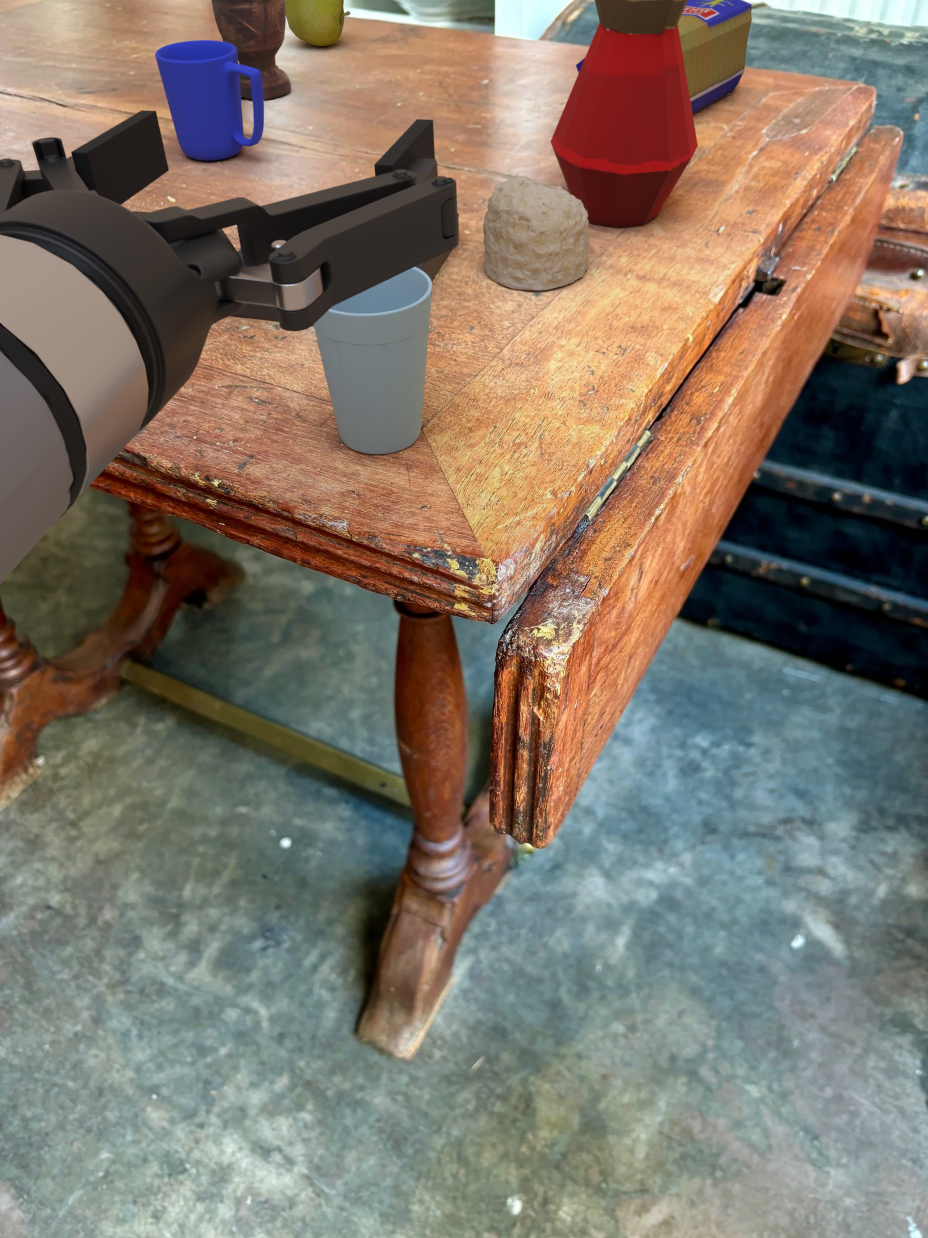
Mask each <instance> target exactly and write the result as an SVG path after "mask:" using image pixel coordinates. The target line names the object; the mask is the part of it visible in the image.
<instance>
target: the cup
mask: <svg viewBox="0 0 928 1238" xmlns="http://www.w3.org/2000/svg"><path fill="white" fill-rule="evenodd" d="M432 299H433V280H432V281H431V279H430V278H429V276H428V275H427V274H426V273H425V272H423V271H422V270H420V269H418V268H416V267H413V268H411V269H409V270H407V271H405V272H403V273H401V274H399V275H397V276H395V277H393V278H390V279H388V280H386V281H384V282H382V283H380V284H378V285H376V286H374V287H372V288H370V289H368V290H366V291H364V292H361V293H359V294H357V295H355V296H353V297H351V298H349V299H347V300H345V301H343V302H341V303H339V304H337V305H334V306H332V307H331V308H330V309H329V310H328V311H327V312H326V313H325V314H324V315H323V316H322V317H321V318H320V319H319V320H318V321H317V322H316V323H315V324H313V325H312V326H313V329H314V333H315V338H316V342H317V346H318V350H319V354H320V358H321V359H320V360H321V363H322V367H323V371H324V376H325V380H326V384H327V390H328V393H329V397H330V401H331V405H332V410H333V414H334V418H335V422H336V427H337V431H338V434H339V438H340V440H341V441H342V443H343V444H344V445H345V446H346V447H348V448H349V449H350V450H353V451H355V452H359V453H361V454H368V455H387V454H393V453H396V452H400V451H403V450H405V449H407V448H409V447H410V446H412V445H413V444H414V443H415V442H416V441H417V440H418V439H419V437H420V435H421V431H422V424H423V423H422V421H423V409H424V397H425V384H426V372H427V362H428V361H427V360H428V359H427V358H428V348H429V347H428V346H429V336H430V335H429V334H430V323H431V322H430V320H431V310H432Z"/></svg>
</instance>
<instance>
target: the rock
mask: <svg viewBox="0 0 928 1238" xmlns="http://www.w3.org/2000/svg"><path fill="white" fill-rule="evenodd" d="M587 217H588V213H587V211H586V210H585V208H584V206H583V203H582V202H581V200H579V199H576V198H575V197H574V196H573V195H571V194H570V192H569V191H567V190H566V189H563V187H562V186H561V185H551V184H549V183H548V182H546V181H543V180H542V179H538V178H533V179H530V178H529V177H528V176H526V175H525V174H524V175H518V176H515V177H513V178H509V179H507V180H505V181H504V182H501V183H496V184H495V186H494V189H493V190H492V193H491V195H490V196H489V198H488V201H487V210H486V212H485V214H484V217H483V223H482V230H483V246H484V251H483V256H484V265H483V269H484V270H485V272H486V275H487V276H488V277H489V278H490V279H491V280H492V281H494V282H496V283H497V284H500V285H502V286H503V287H507V288H510V289H513V290H521V291H535V292H539V291H547V290H552V289H556V288H560V287H565V286H567V285H569V284H572V283H574V282H576V281H577V280H579V279H580V278H582V277H584V276H583V275H585V273H586V272H587V271H588V269H589V267H590V237H591V233H590V229H589V225H590V222H589V221H588V218H587ZM586 270H587V271H586ZM585 271H586V272H585ZM575 280H576V281H575Z"/></svg>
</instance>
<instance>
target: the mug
mask: <svg viewBox="0 0 928 1238" xmlns="http://www.w3.org/2000/svg"><path fill="white" fill-rule="evenodd" d="M154 56H155V60H156V64H157V67H158V71H159V75H160V79H161V82H162V86H163V90H164V93H165V97H166V101H167V104H168V105H167V106H168V109H169V113H170V116H171V120H172V124H173V127H174V131H175V135H176V139H177V142H178V145H179V148H180V149H181V151H182V152H183V154H184V155H185V156H187V157H188V158H191V159H193V160H197V161H208V162H209V161H219V160H221V161H222V160H224V159H228V158H232V157H233V156H236V155H238V154H239V153H240V152H241V151H242V149H243V147H247V148H251V147H254V146H255V145H257V144H259V142H260V141H261V139H262V137H263V134H264V126H265V102H264V99H263V85H262V75H261V72H260V71H259V70H258V69H255V68H252V67H249V66H245V65H241V64H239V61H238V53H237V48H236V47H235V46H234V45H232V44H230V43H227V42H223V40H210V39H199V40H198V39H197V40H186V41H178V42H175V43H171V44H167V45H165V46H162V47H160V48H158V49H157V50H156V51H155V54H154ZM239 74H242V75H245V76H248V77H249V78H250V81H251V89H252V99H251V101H252V113H253V114H252V115H253V116H252V117H253V126H252V134H251V137H250V138H248V137H245V133H244V131H245V130H244V120H243V107H242V97H241V92H240V79H239Z"/></svg>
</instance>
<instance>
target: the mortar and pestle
mask: <svg viewBox="0 0 928 1238" xmlns="http://www.w3.org/2000/svg"><path fill="white" fill-rule="evenodd" d="M211 6H212V11H213V16H214V20H215V24H216V26H217V30H218V32H219V34H220V36H221V39H222V42H227V43H230V44H232V45H234V46H235V47H236V48H237V53H238V64H241V65H245V66H249V67H252V68H255V69H258V70H259V71H260V72H261V75H262V85H263V99H264V100H271V99H275V98H279V97H281V96H284V95H286V94H287V93H289V92H291V91H292V84H291V80H290V78H289V76H288V73H286V71H284V70H283V69H281V68H280V67H279V66H278V65H277V64H276V63H277V62H276V55H277V54H278V52H279V50H280V49H281V47H282V46H283V43H284V40H285V34H286V24H287V18H286V15H285V0H211ZM239 79H240V92H241V98H244V99H247V100H252V89H251V81H250V78H249V77H248V76H245V75H242V74H239Z"/></svg>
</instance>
